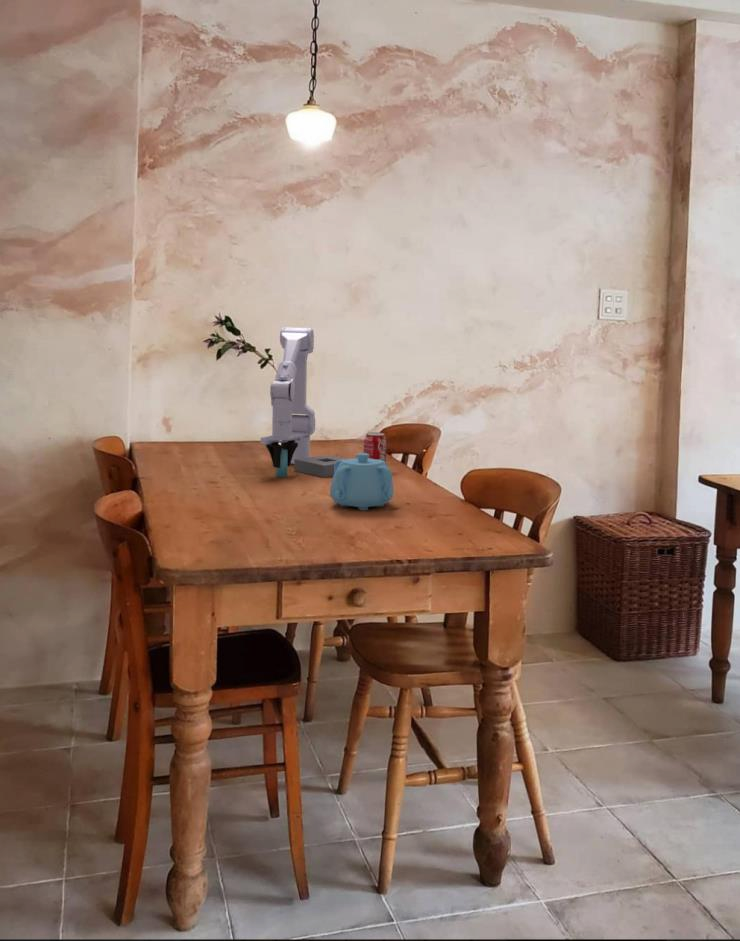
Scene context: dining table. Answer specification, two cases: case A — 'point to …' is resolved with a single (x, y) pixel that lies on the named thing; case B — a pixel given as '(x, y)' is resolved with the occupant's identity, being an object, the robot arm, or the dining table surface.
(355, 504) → the decorative pot
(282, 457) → the peg
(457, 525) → the dining table surface
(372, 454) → the soda can
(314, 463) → the socket
